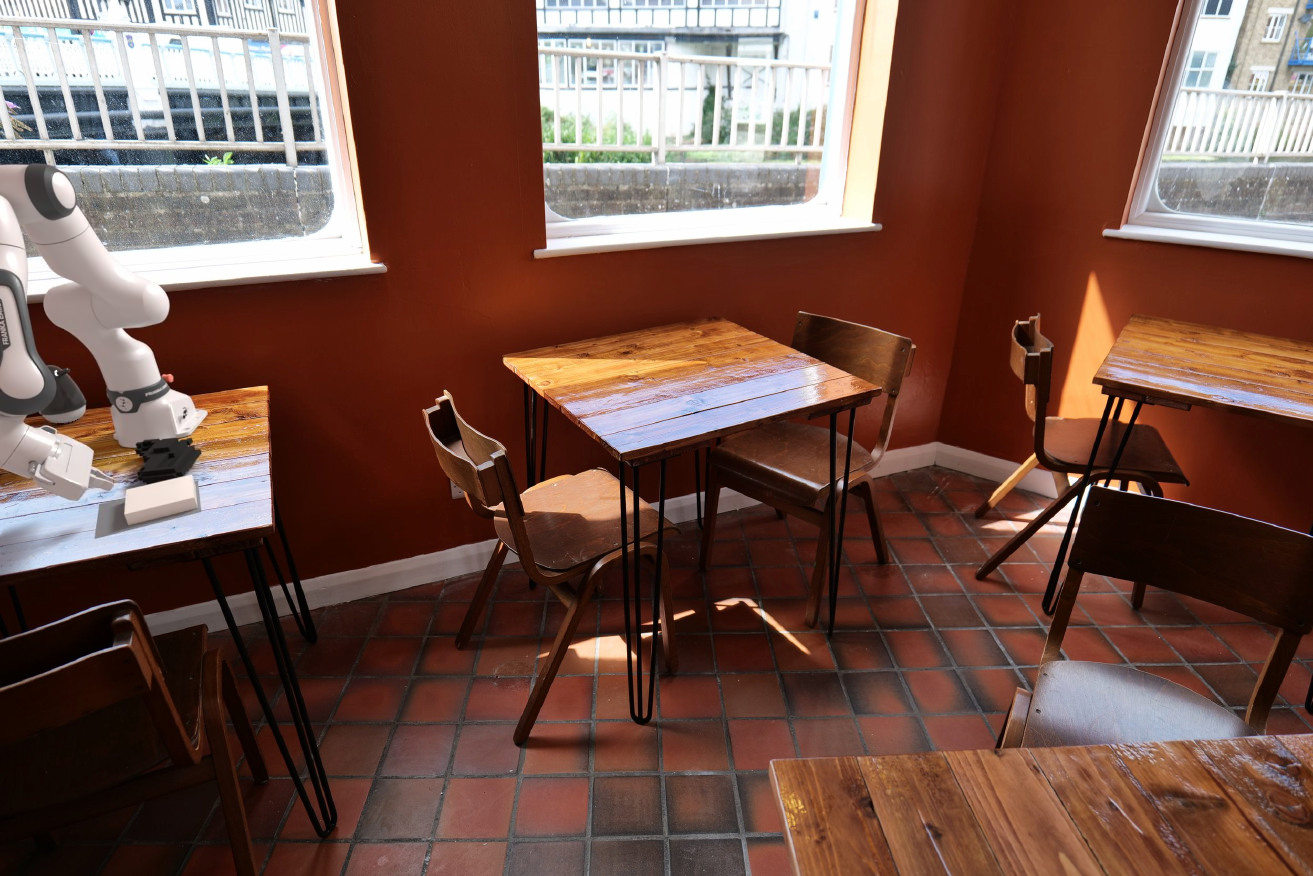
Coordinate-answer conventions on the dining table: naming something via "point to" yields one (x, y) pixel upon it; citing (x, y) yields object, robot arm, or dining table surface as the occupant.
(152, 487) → the tile
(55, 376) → the penguin toy figure
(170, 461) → the tool
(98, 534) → the mat
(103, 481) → the robot arm
